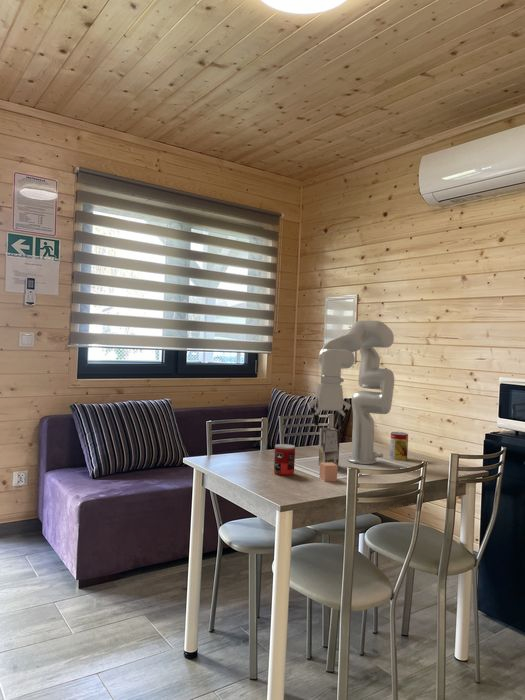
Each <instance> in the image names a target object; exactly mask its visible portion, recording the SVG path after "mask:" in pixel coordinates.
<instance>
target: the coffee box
mask: <svg viewBox="0 0 525 700" xmlns="http://www.w3.org/2000/svg"><path fill="white" fill-rule="evenodd" d="M340 438H341V431H340V430H339V429H337V428H336V427H319V439H318V440H319V442H318V443H319V444H318V465H319V466H320V463H329V462H332V463H334V464H336V465H338V467H337V470H339V463H340V462H339V461H340V441H341V440H340Z"/></svg>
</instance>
